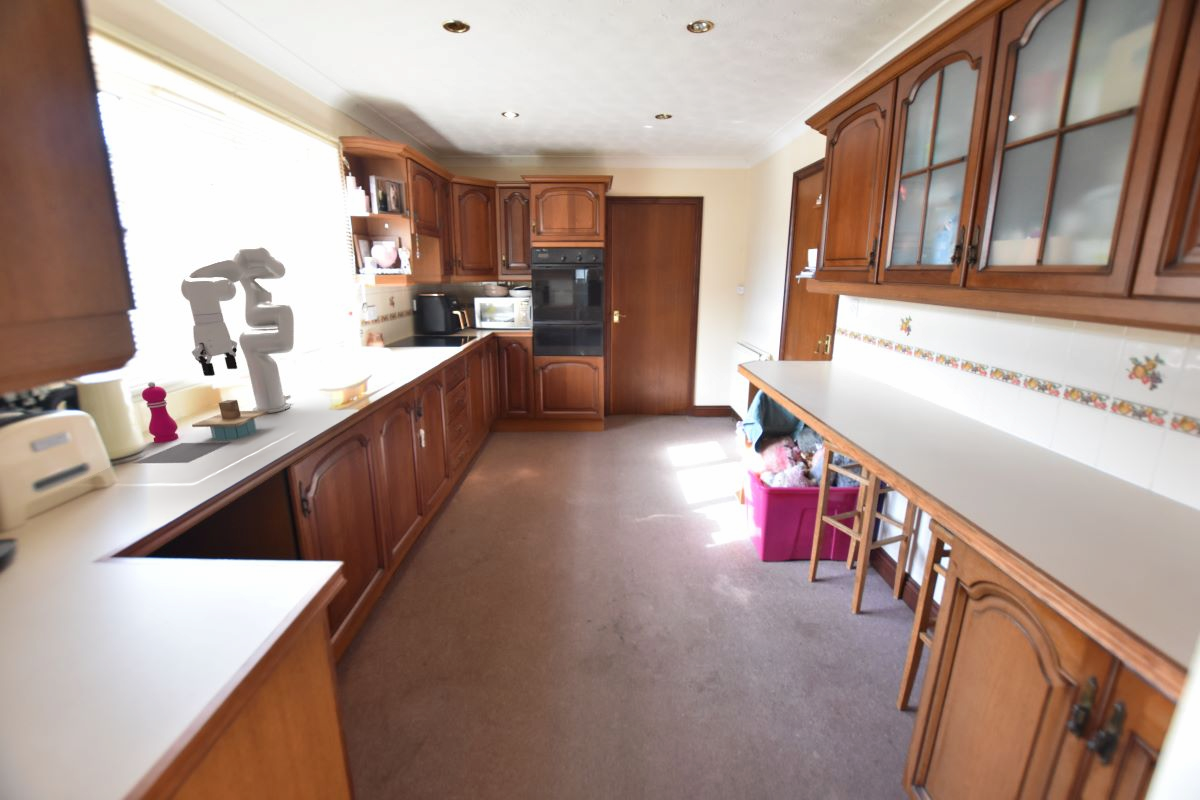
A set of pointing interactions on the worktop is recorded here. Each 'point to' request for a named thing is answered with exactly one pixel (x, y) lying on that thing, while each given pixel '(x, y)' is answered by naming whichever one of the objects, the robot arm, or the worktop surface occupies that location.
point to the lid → (230, 416)
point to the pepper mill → (159, 415)
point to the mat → (183, 453)
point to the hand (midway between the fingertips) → (221, 372)
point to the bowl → (233, 431)
